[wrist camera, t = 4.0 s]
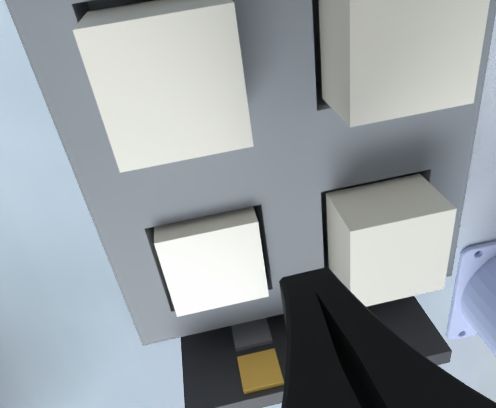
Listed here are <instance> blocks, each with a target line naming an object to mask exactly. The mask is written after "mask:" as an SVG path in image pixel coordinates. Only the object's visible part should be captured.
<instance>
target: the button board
mask: <svg viewBox="0 0 496 408" xmlns="http://www.w3.org/2000/svg"><path fill="white" fill-rule="evenodd" d="M148 1H154V0H5V2H6V4H7V7H8V9H9V12H10V14H11V17H12V19H13V22H14V24H15V27H16V29H17V32H18V34H19V37H20V39H21V42H22V44H23V47H24V49H25V52H26V54H27V57H28V59H29V62H30V64H31V67H32V69H33V72H34V74H35V77H36V79H37V82H38V84H39V87H40V89H41V92H42V94H43V97H44V99H45V102H46V104H47V107H48V109H49V112H50V114H51V117H52V119H53V122H54V124H55V127H56V129H57V132H58V134H59V137H60V139H61V142H62V144H63V147H64V149H65V152H66V154H67V157H68V159H69V162H70V164H71V167H72V169H73V172H74V174H75V177H76V179H77V182H78V184H79V187H80V189H81V192H82V195H83V197H84V200H85V202H86V205H87V207H88V210H89V212H90V215H91V217H92V220H93V222H94V225H95V227H96V230H97V232H98V235H99V237H100V240H101V242H102V245H103V247H104V250H105V252H106V255H107V257H108V260H109V262H110V265H111V267H112V270H113V272H114V275H115V277H116V280H117V282H118V285H119V287H120V290H121V292H122V295H123V297H124V300H125V302H126V305H127V307H128V310H129V312H130V315H131V317H132V320H133V322H134V325H135V327H136V330H137V332H138V335H139V337H140V340H141V342H142V345H143V346H144V345H148V344H153V343H157V342H161V341H166V340H170V339H175V338H179V337H181V349H182V366H183V383H184V400H185V408H263V407H267V406H271V405H275V404H279V403H282V399H283V391H284V381H285V367H286V348H287V333H286V326H285V319H284V312H283V305H282V298H281V291H280V284H279V281H280V280H281V279H282V277H286V276H290V275H294V274H299V273H303V272H307V271H312V270H316V269H320V268H324V267H327V268H329V261H328V235H327V209H326V193H329V192H333V191H338V190H343V189H348V188H353V187H358V186H362V185H367V184H372V183H377V182H382V181H386V180H391V179H396V178H401V177H406V176H411V175H415V174H421V175H422V176H423V177H424V178H425V179H426V180H427V181H428V182H429V183H430V184H431V185H432V186H433V187H434V188H435V189H436V190H438V191H439V192H440V193H441V194H442V195H443V196H444V197H445V198H446V199H447V200H448V201H449V202H450V203H451V204H452V205H453V206H454V207H455V208H457V211H456V217H455V223H454V230H453V236H452V242H451V249H450V255H449V261H448V267H447V274H446V277H448V276H452V270H453V264H454V258H455V252H456V246H457V240H458V234H459V228H460V222H461V216H462V210H463V204H464V198H465V192H466V186H467V180H468V174H469V169H470V163H471V157H472V151H473V145H474V139H475V133H476V127H477V121H478V115H479V109H480V103H481V97H482V91H483V85H484V79H485V73H486V67H487V61H488V55H489V50H490V44H491V38H492V32H493V26H494V20H495V14H496V0H490V4H489V10H488V16H487V22H486V29H485V35H484V41H483V48H482V54H481V60H480V66H479V73H478V79H477V85H476V92H475V98H474V103H472V104H467V105H462V106H457V107H452V108H446V109H441V110H436V111H431V112H426V113H421V114H416V115H411V116H406V117H401V118H396V119H391V120H386V121H380V122H375V123H370V124H365V125H360V126H355V127H349V126H348V125H347V124H346V123H345V122H344V121H343V120H342V119H341V117H340V116H339V115H338V114H337V113H336V112H335V111H334V110H333V109H332V108H331V107H330V106H329V105H328V104H327V103H326V102H325V101H324V100H323V99H322V78H321V52H320V26H319V0H232V1H233V2H234V5H235V13H236V20H237V27H238V35H239V42H240V49H241V57H242V64H243V71H244V79H245V86H246V94H247V101H248V108H249V116H250V123H251V130H252V138H253V145H254V147H248V148H243V149H238V150H233V151H228V152H223V153H218V154H213V155H208V156H203V157H198V158H193V159H188V160H182V161H177V162H172V163H167V164H162V165H157V166H152V167H147V168H142V169H137V170H132V171H127V172H122V173H120V171H119V168H118V165H117V162H116V159H115V156H114V153H113V150H112V147H111V144H110V141H109V138H108V135H107V132H106V129H105V126H104V123H103V120H102V117H101V114H100V111H99V108H98V105H97V102H96V99H95V96H94V93H93V90H92V87H91V84H90V81H89V78H88V75H87V72H86V69H85V66H84V63H83V60H82V57H81V54H80V51H79V48H78V45H77V42H76V39H75V36H74V33H73V29H74V28H75V26H76V25H77V24H78V22H79V21H80V20H81V19H82V17H83V16H84V15H85V14H86V12H88V11H94V10H100V9H106V8H112V7H118V6H124V5H130V4H136V3H142V2H148ZM251 206H253V208H254V211H255V214H256V217H257V220H258V224H259V231H260V238H261V245H262V252H263V259H264V266H265V273H266V279H267V286H268V293H269V297H264V298H260V299H255V300H251V301H246V302H242V303H237V304H233V305H228V306H224V307H219V308H215V309H210V310H206V311H201V312H197V313H192V314H188V315H184V316H179V317H177V315H176V312H175V309H174V305H173V302H172V299H171V296H170V293H169V290H168V287H167V283H166V280H165V277H164V274H163V271H162V268H161V264H160V261H159V258H158V255H157V252H156V249H155V245H154V227H155V226H159V225H164V224H169V223H174V222H179V221H184V220H188V219H193V218H198V217H203V216H208V215H212V214H217V213H222V212H227V211H232V210H237V209H241V208H246V207H251ZM367 308H368V309H369V310H370V311H371V312H372V313H373V314H374V315H376V316H377V317H378V318H379V319H380V320H381V321H382V322H383V323H384V324H385V325H387V326H388V327H389V328H390V329H391V330H392V331H394V332H395V333H396V334H397V335H398V336H400V337H401V338H402V339H403V340H405V341H406V342H407V343H408V344H409V345H411V346H412V347H413V348H415V349H416V350H417V351H418V352H420V353H421V354H422V355H424V356H425V357H426V358H428V359H429V360H430V361H432V362H433V363H435V364H436V365H440V364H444V363H448V362H450V357H451V352H452V350H451V349H450V348H449V346H448V345H447V343H446V342H445V340H444V339H443V337H442V336H441V335H440V333H439V332H438V330H437V329H436V327H435V326H434V324H433V323H432V322H431V320H430V319H429V317H428V316H427V314H426V313H425V311H424V310H423V309H422V307H421V306H420V304H419V303H418V301H417V300H416V298H415V297H414V296H411V297H406V298H402V299H397V300H393V301H389V302H384V303H380V304H376V305H371V306H367Z"/></svg>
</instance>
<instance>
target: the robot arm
mask: <svg viewBox="0 0 496 408" xmlns="http://www.w3.org/2000/svg"><path fill="white" fill-rule="evenodd" d="M478 251H480V252H479V253H478V254H476V255H475V253H476V252H478ZM279 284H280V291H281V298H282V305H283V312H284V319H285V326H286V333H287V348H286V367H285V381H284V391H283V399H282V407H281V408H496V403H495V402H494V401H492V400H490V399H489V398H487V397H485V396H484V395H482V394H480V393H478V392H477V391H475V390H473V389H472V388H470V387H469V386H467V385H465V384H464V383H462V382H461V381H459V380H458V379H456V378H455V377H453V376H452V375H450V374H449V373H447V372H446V371H445V370H443V369H442V368H440V367H439V366H437V365H436V364H435V363H433V362H432V361H430V360H429V359H428V358H426V357H425V356H424V355H422V354H421V353H420V352H418V351H417V350H416V349H415V348H413V347H412V346H411V345H409V344H408V343H407V342H406V341H405V340H403V339H402V338H401V337H400V336H398V335H397V334H396V333H395V332H394V331H392V330H391V329H390V328H389V327H388V326H387V325H385V324H384V323H383V322H382V321H381V320H380V319H379V318H378V317H377V316H376V315H374V314H373V313H372V312H371V311H370V310H369V309H368V308H367V307H366V306H365V305H364V304H363V303H362V302H361V301H360V300H359V299H358V298H357V297H356V296H355V295H354V294H353V293H352V292H351V291H350V290H349V289H348V288H347V287H346V286H345V285H344V284H343V283H342V282H341V281H340V280H339V279H338V278H337V277H336V275H335V274H334V273H333V272H332V271H331V270H330V269H329V268H327V267H324V268H320V269H316V270H312V271H307V272H303V273H299V274H294V275H290V276H286V277H282V279H281V280H280V281H279ZM462 331H463V332H462ZM460 332H461V333H460ZM477 334H478V335H479V337H480V338H481V339H482V340H483V342H484V343H485V344H486V346H487V347H488V348H489V349H490V351H491V352H492V353H493V354H494V356H495V357H496V241H492V242H488V243H483V244H479V245H474V246H470V247H467V248H465V249H463V250H462V252H461V253H460V257H459V263H458V268H457V274H456V280H455V285H454V291H453V297H452V302H451V308H450V314H449V319H448V325H447V331H446V336H447V338H448V339H449V340H456V339H461V338H465V337H469V336H473V335H477Z"/></svg>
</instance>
